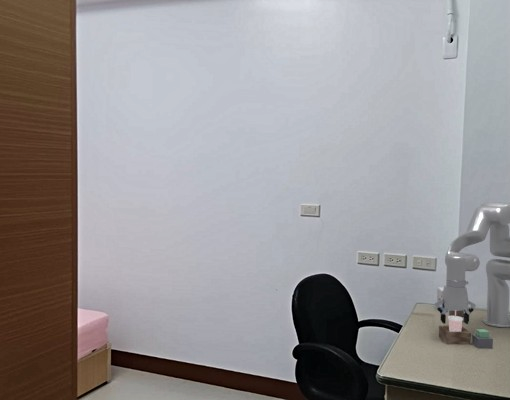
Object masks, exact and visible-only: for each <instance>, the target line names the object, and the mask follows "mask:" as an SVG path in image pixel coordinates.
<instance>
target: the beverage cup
mask: <svg viewBox="0 0 510 400" xmlns="http://www.w3.org/2000/svg"><path fill="white" fill-rule="evenodd" d="M447 320H448V326H449V331H453V332H461V329H462V326H463V322H464V317H463V318H462V317H459V316H456V310H455V316H449V315H448V316H447Z"/></svg>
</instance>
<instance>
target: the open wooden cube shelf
mask: <svg viewBox="0 0 510 400" xmlns="http://www.w3.org/2000/svg"><path fill="white" fill-rule="evenodd" d="M438 337H439V338H440V339H441V340H442V341H443V342H444V343H445V344H446V343H447V344H446V345H471V344H472V332H471V331H470V330H469V329H467V328H465V327H464V326H463V325H462V329H461V332H453V331H449V325H438Z"/></svg>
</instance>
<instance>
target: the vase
mask: <svg viewBox="0 0 510 400" xmlns="http://www.w3.org/2000/svg"><path fill="white" fill-rule="evenodd" d="M464 313H465V312H464V311H459V310H456V316H459V317H462V318H463V319H464ZM448 316H455V310H449V312H448Z"/></svg>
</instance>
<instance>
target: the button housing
mask: <svg viewBox="0 0 510 400" xmlns="http://www.w3.org/2000/svg"><path fill="white" fill-rule="evenodd" d="M471 344H472V345H473V346H475V347H476V348H477V349H493V347H494V339H493V338H492V337H491V336H489V338H479V337H477V336H476V333H471Z"/></svg>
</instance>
